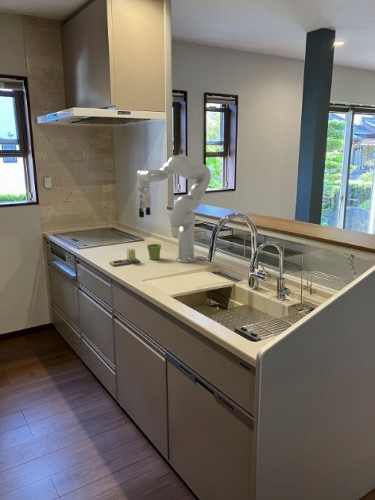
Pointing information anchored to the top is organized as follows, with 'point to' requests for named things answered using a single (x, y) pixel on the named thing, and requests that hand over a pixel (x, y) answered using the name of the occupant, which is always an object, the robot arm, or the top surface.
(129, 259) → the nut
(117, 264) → the rail
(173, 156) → the robot arm
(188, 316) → the top surface
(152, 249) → the plant pot
